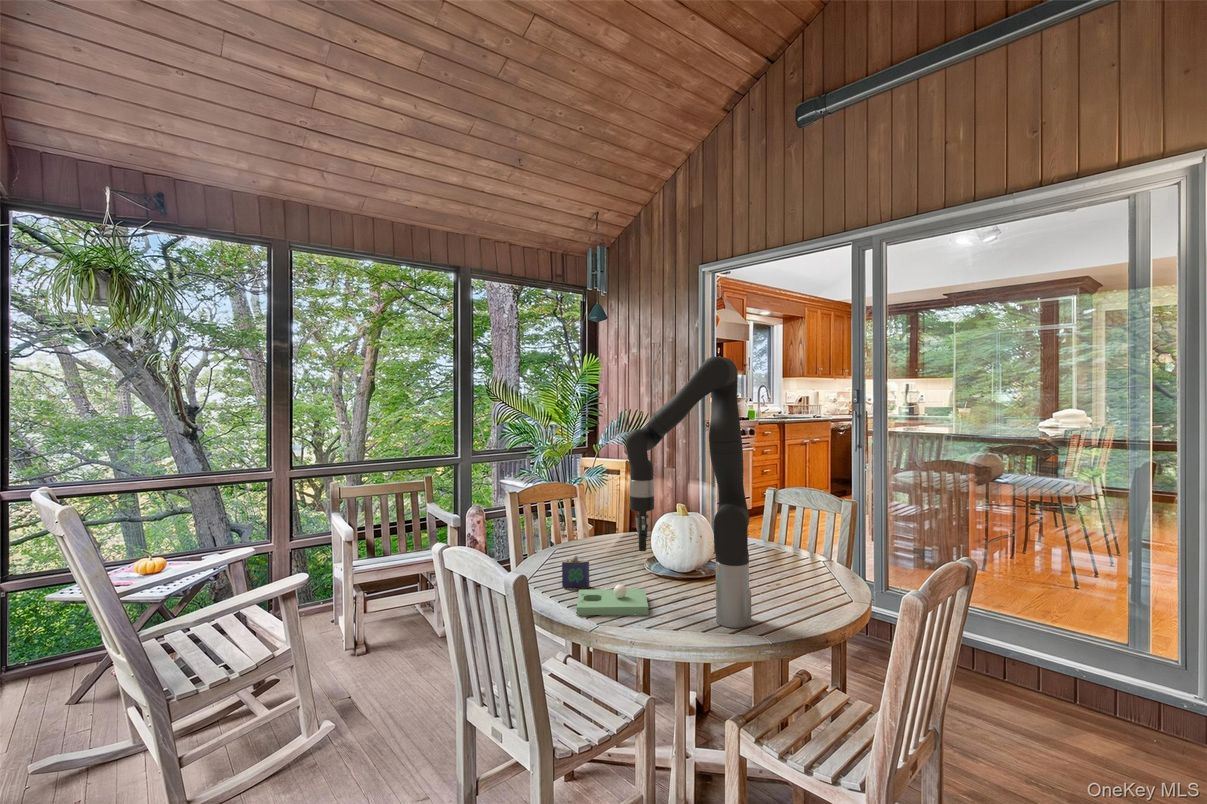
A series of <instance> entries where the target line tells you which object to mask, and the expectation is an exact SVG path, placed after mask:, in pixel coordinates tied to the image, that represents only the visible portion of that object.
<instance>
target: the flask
mask: <svg viewBox="0 0 1207 804" xmlns="http://www.w3.org/2000/svg"><path fill="white" fill-rule="evenodd" d="M578 558H579V556H578V555H574V556H573V558H571V559H566V560H562V563H561V572H562V573H561V585H562V586H561V587H562V588H563V587H564V588H580V589H587V588H586V587H590V560H588V559H584V560H583V559H578Z"/></svg>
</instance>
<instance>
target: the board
mask: <svg viewBox="0 0 1207 804" xmlns="http://www.w3.org/2000/svg"><path fill="white" fill-rule="evenodd" d="M626 590H627V593H626V595H625V596H624V597H623V598H617V597H616V596H615V595H614V588H613V589H612V588H611V589H608V588H607V589H604V588H603V589H599V588H598V589H578V594H577V595H578V596H577V602H576V616H577V615H618V616H649V604H648V600H647V599H648V598H647V594H646V589H645V588H626ZM634 614H636V615H634Z"/></svg>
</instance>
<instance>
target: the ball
mask: <svg viewBox="0 0 1207 804" xmlns="http://www.w3.org/2000/svg"><path fill="white" fill-rule="evenodd" d="M613 589H614V595H615V596H616V597H617V598H623V597H624V596H625V595H626V593H627V590H626V589H627V587H626V586H625V585H624V584H622V583H621V584H616V586H614V588H613Z"/></svg>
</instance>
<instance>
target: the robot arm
mask: <svg viewBox="0 0 1207 804" xmlns="http://www.w3.org/2000/svg"><path fill="white" fill-rule="evenodd" d="M738 376H739V373H738V368H737V366H736V364H735V363H734V361H733V360H732V359H731V358H728V357H724V356H718V355H717V356H711V357H708V358H707V359H705V360H704V361H703V363H702V364H701V365H700V366H699V367H698V369H697V370H696V371H695V372H694V374H693V375H692V376H691V378H690V379H689V380H688V381H687V382H686V383H685V384H684V385H683V386H682V388H680V390H678V392H676V393H675V394H674V395H673V396H672V397H671V398H670V399H669V400H668V401H666V402H665V403H664V404H663V405H661V407H659V409H657V410H656V411H655V412H654V413H653V414H652V415H651V416H650V418H649V421H648V423H647V424H646V425H645V426H643V427H642V428H639V429H638V428H637V429H634V430H631V431H629V433H628V434H627V436H626V440H625V449H626V454H627V457H628V463H629V466H630V469H629V470H630V471H629V475H630V476H629V478H630V481H629V510H631V511H632V512H637V514H635V523H636V524H635V526H636V527H635V528H636V531H637V532H636V533H637V538H638V551H639V552H647V539H648V532H649V523H650V517H649V514H647V512H651V511H652V512H653V511H654V510H655V484H654V463H653V462H652V461H651V460H649V455H648V451H651V450H652V449H654V448H655V447H656V446H657V445H658V444H660V442H661V441H662V439H664V437H665V435H667V434H668V433H669V432H670V431H672V430H673V429H674V428H675V427H676V426H678V425H679V424H680V423H681V422H682V421H683V420H684V419H685V418H686V417H687V416H688V414H689V413H690V412H691V410H692V409H693V408H694V407H695V405H697V403H699V402H700V401H701V400H702V399H703V398H705V397H706V396H708V395H709V394H711V400H712V402H711V403H712V412H711V418H710V422H709V430H708V446H709V456H710V462H711V466H712V470H713V473H714V477H715V480H716V485H717V490H718V507H717V508H718V510H717V512H716V514H715V515H714V518H713V547H714V548H713V549H714V554H715V556H714V557H715V621H716V623H717V622H718V623H717V624H718V625H721V626H723V627H726V628H730V629H733V628H734V629H739V628H745V627H749V626H752V625H753V624H752V591H751V589H750V554H749V553H750V552H749V548H748V546H749V544H748V543H749V540H748V539H749V537H748V529H749V528H748V527H749V525H750V513H749V509H748V504H747V500H746V494H745V488H744V487H745V486H744V448H743V440H742V439H743V438H742V432H741V431H742V430H741V421H740V415H739V406H738V384H739V383H738V381H739V380H738V378H739V377H738Z"/></svg>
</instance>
